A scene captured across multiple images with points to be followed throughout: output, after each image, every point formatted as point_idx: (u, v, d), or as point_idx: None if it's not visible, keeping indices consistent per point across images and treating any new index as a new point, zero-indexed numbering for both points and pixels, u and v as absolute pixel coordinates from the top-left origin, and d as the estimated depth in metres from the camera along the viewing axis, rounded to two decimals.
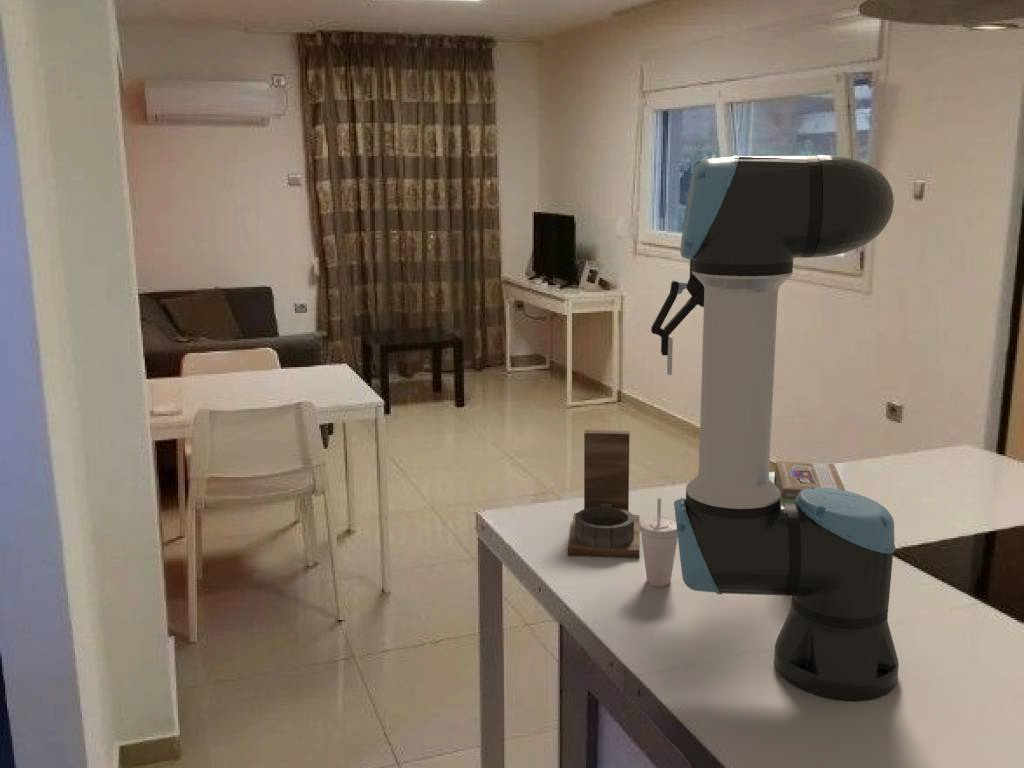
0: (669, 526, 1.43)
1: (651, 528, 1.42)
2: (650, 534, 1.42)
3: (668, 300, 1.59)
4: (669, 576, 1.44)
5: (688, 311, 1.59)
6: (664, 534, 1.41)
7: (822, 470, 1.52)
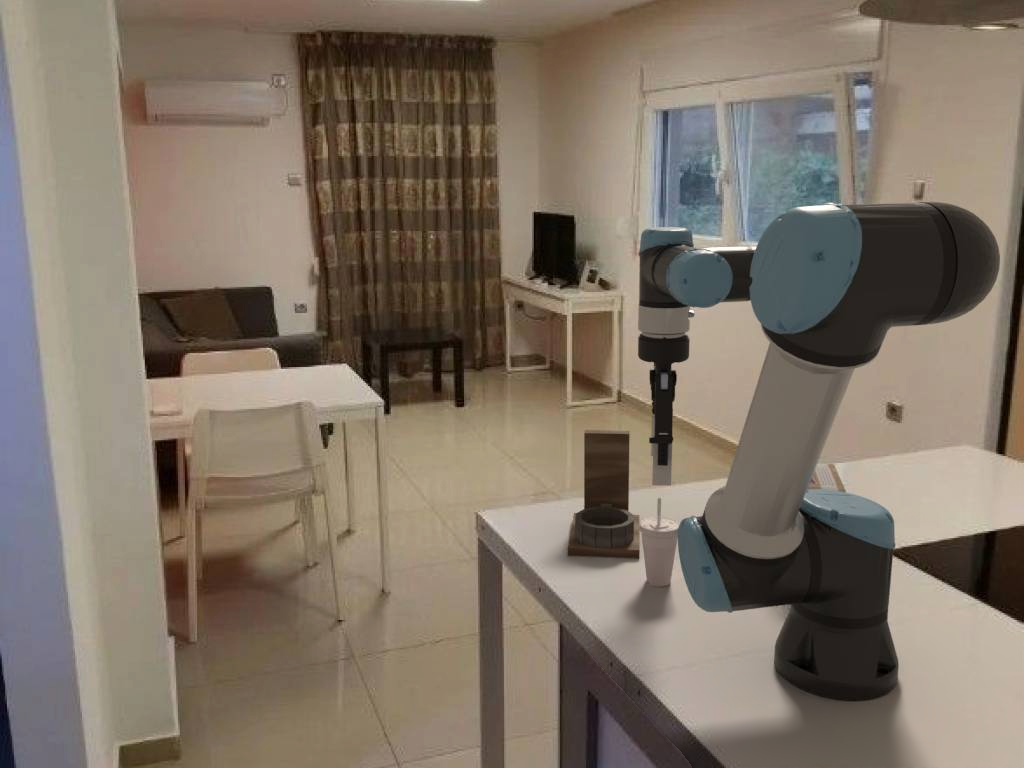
0: (669, 526, 1.43)
1: (651, 528, 1.42)
2: (650, 534, 1.42)
3: None
4: (669, 576, 1.44)
5: None
6: (664, 534, 1.41)
7: (822, 470, 1.52)
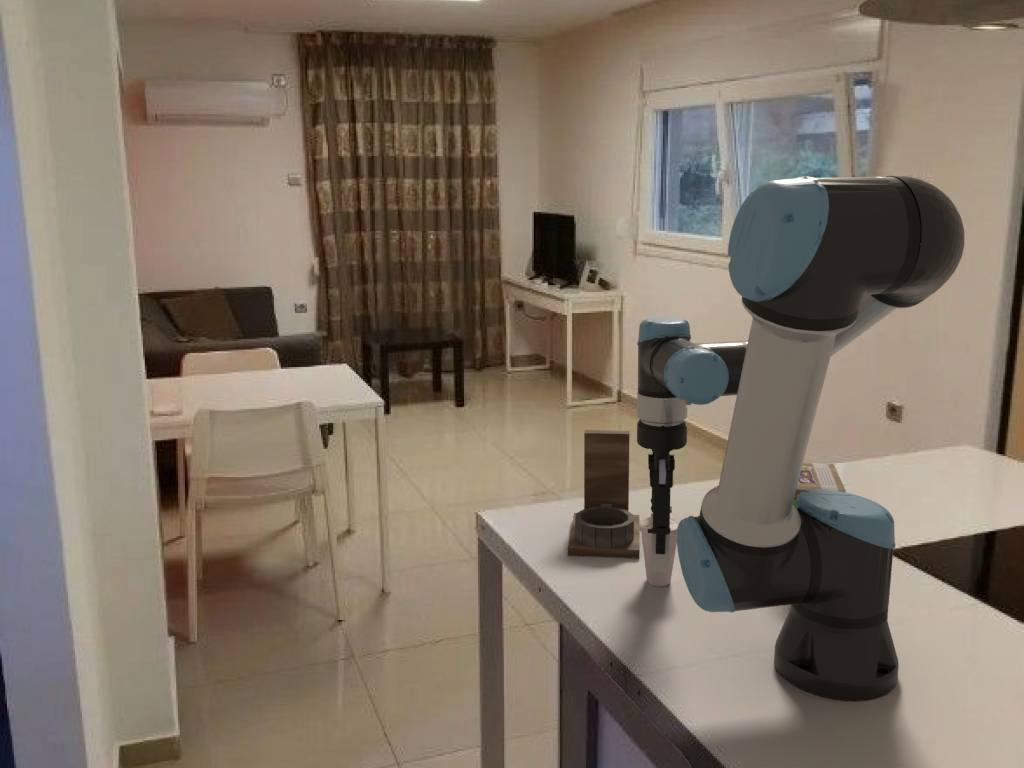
0: None
1: (651, 528, 1.42)
2: (650, 534, 1.42)
3: None
4: (669, 576, 1.44)
5: None
6: None
7: (822, 470, 1.52)
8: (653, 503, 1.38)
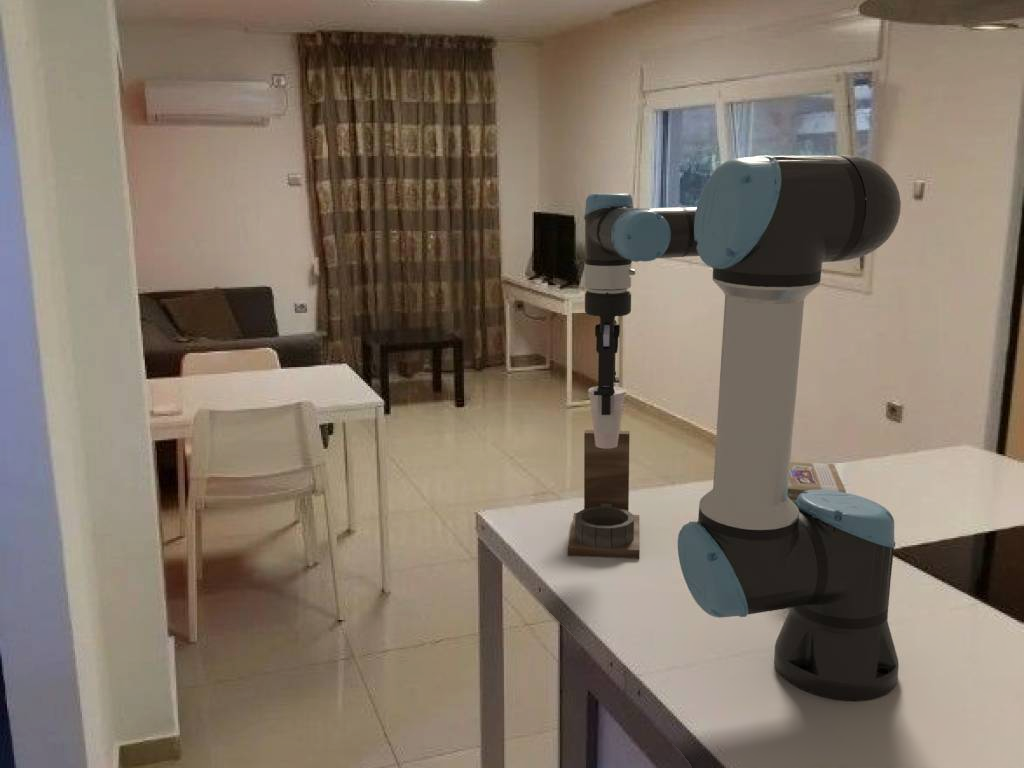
0: (615, 391, 1.53)
1: None
2: (597, 397, 1.52)
3: None
4: (615, 439, 1.55)
5: None
6: None
7: (822, 470, 1.52)
8: None
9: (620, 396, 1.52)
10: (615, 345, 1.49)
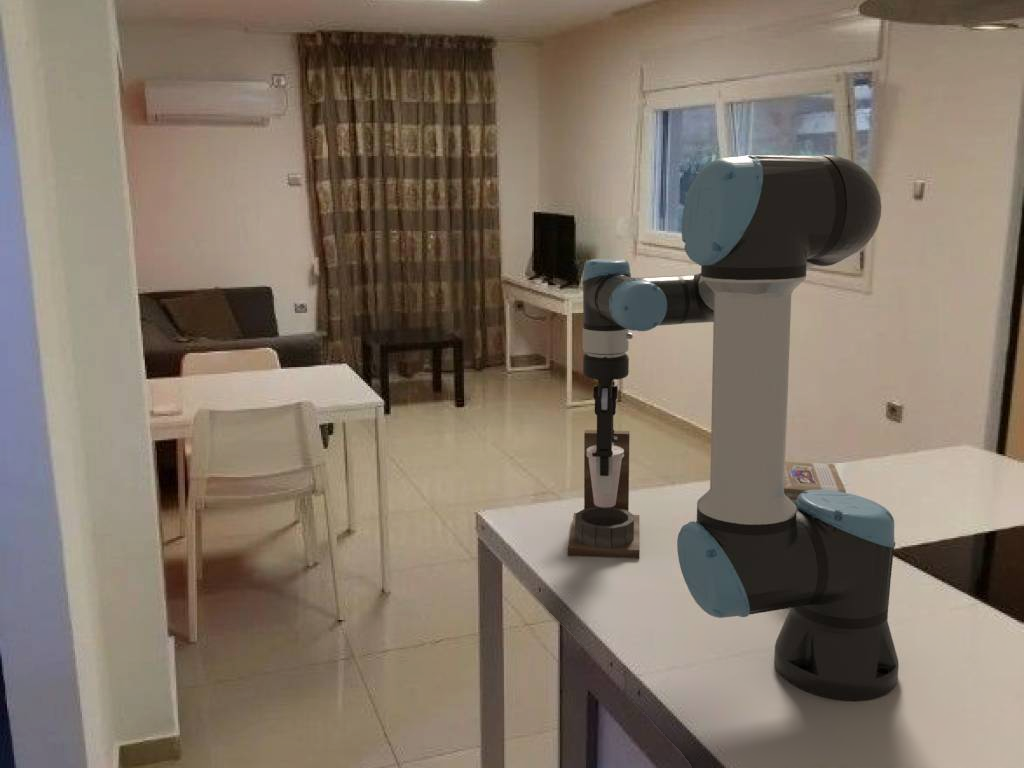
0: (613, 451, 1.56)
1: None
2: None
3: None
4: (614, 498, 1.57)
5: None
6: None
7: (822, 470, 1.52)
8: None
9: (618, 457, 1.55)
10: (613, 407, 1.52)
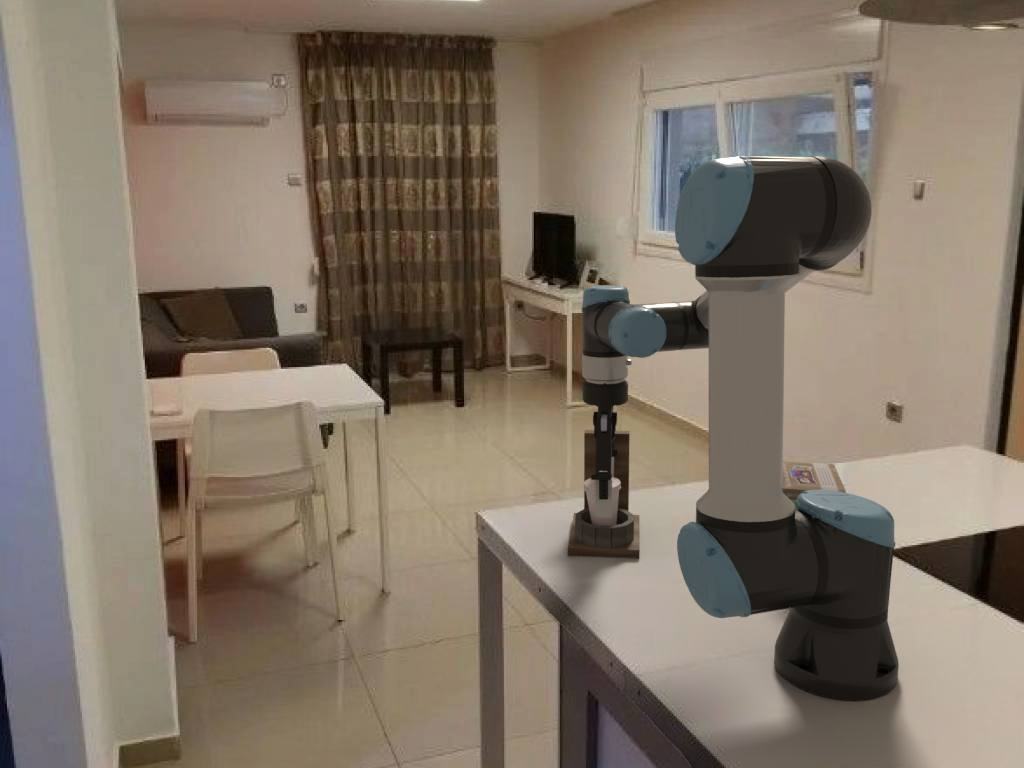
0: None
1: (593, 486, 1.56)
2: (593, 492, 1.56)
3: None
4: None
5: None
6: None
7: (822, 470, 1.52)
8: None
9: (615, 489, 1.56)
10: (612, 431, 1.52)
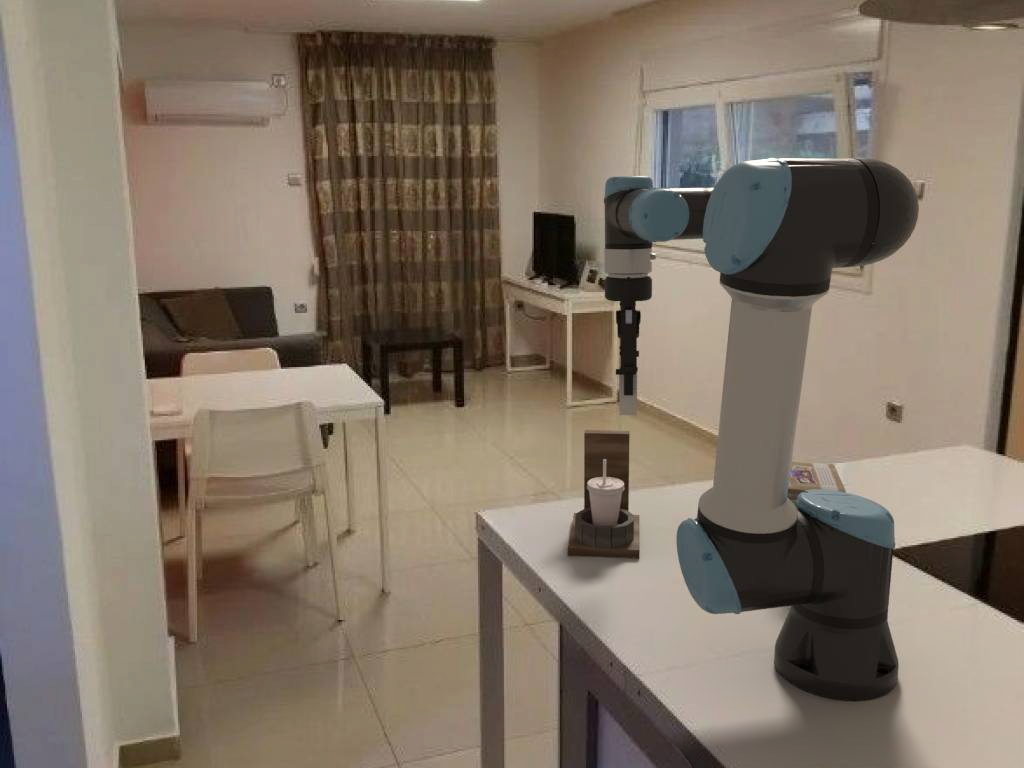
0: (614, 485, 1.57)
1: (597, 486, 1.56)
2: (596, 492, 1.56)
3: None
4: None
5: None
6: (608, 492, 1.55)
7: (822, 470, 1.52)
8: None
9: (618, 491, 1.56)
10: (637, 327, 1.46)
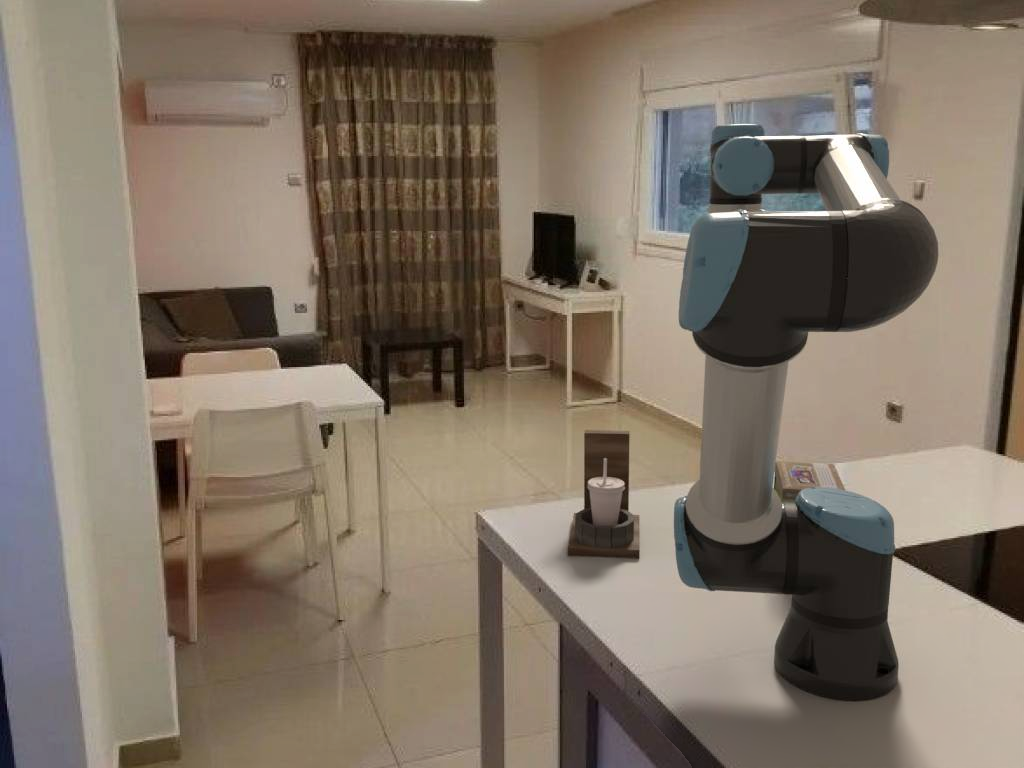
0: (614, 484, 1.57)
1: (597, 485, 1.57)
2: (596, 490, 1.56)
3: None
4: None
5: None
6: (608, 491, 1.55)
7: (822, 470, 1.52)
8: None
9: (618, 490, 1.56)
10: None
